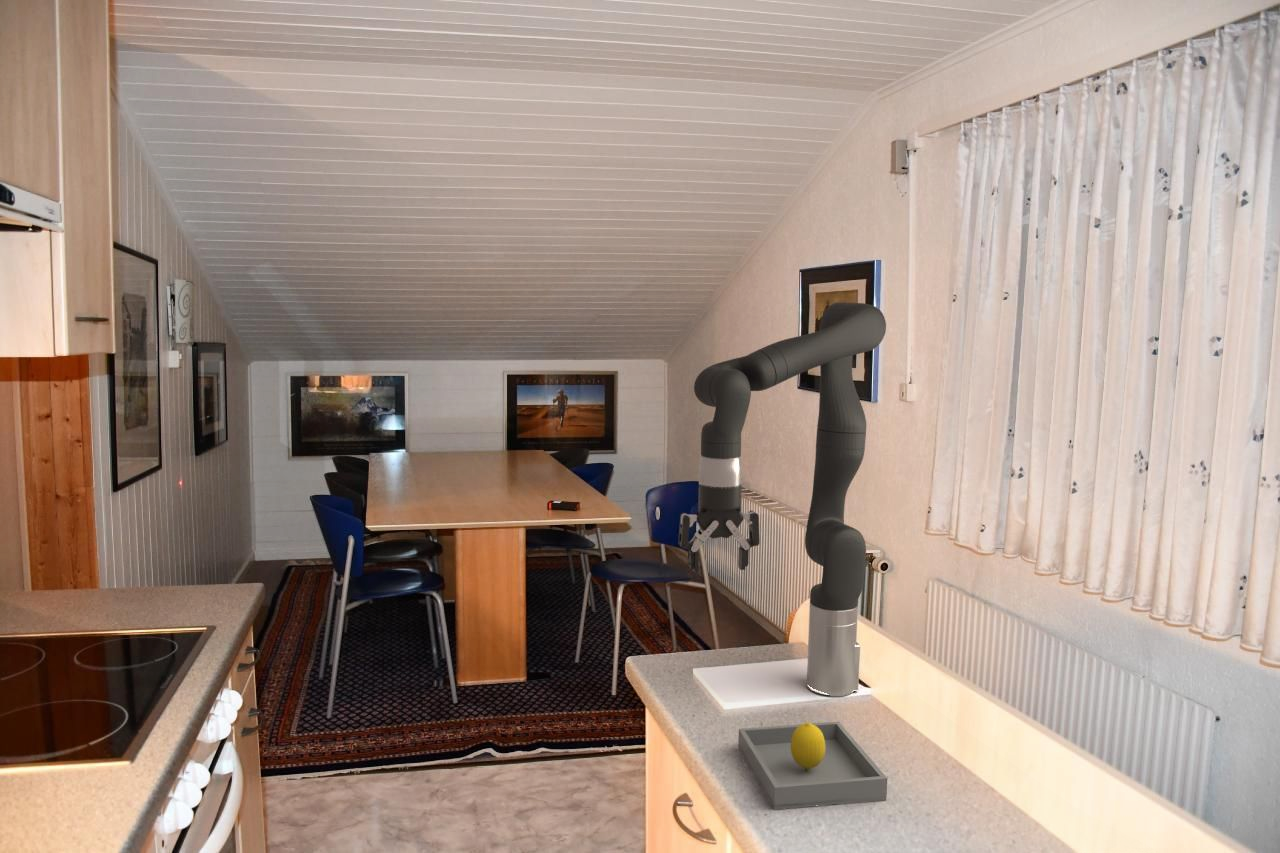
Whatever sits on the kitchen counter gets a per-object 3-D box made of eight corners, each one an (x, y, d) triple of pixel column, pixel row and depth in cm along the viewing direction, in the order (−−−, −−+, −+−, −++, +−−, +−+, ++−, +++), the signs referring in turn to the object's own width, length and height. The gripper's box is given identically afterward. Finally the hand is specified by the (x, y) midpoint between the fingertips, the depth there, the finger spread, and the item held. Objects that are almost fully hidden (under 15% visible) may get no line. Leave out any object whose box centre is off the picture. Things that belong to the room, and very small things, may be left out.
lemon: (805, 781, 156) (806, 733, 155) (783, 766, 161) (784, 720, 160) (831, 772, 159) (833, 725, 158) (809, 758, 164) (810, 712, 163)
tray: (838, 741, 172) (838, 721, 171) (886, 800, 152) (887, 778, 152) (738, 748, 169) (738, 728, 168) (774, 809, 149) (775, 787, 149)
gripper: (753, 475, 179) (750, 562, 181) (676, 477, 176) (674, 565, 178) (765, 484, 171) (763, 574, 174) (685, 486, 169) (684, 578, 171)
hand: (718, 570), depth 176 cm, fingers open, 8 cm apart
